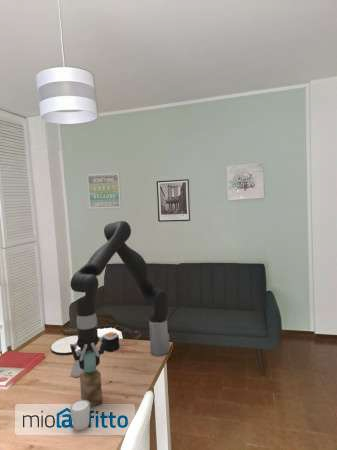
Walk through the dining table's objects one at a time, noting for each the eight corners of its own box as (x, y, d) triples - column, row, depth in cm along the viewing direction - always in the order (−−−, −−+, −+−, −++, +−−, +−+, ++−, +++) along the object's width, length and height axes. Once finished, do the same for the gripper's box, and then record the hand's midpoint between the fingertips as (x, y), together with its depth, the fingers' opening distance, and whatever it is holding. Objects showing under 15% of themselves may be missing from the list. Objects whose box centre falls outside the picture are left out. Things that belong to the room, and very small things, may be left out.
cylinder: (94, 364, 125) (93, 347, 125) (97, 370, 121) (96, 352, 120) (82, 367, 123) (81, 350, 122) (84, 373, 118) (83, 356, 118)
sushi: (111, 343, 173) (110, 329, 173) (122, 347, 169) (121, 333, 168) (100, 349, 167) (99, 335, 166) (111, 353, 162) (110, 338, 161)
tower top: (94, 381, 127) (93, 366, 126) (101, 387, 122) (100, 372, 121) (80, 387, 123) (79, 372, 122) (87, 393, 118) (86, 378, 118)
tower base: (98, 394, 127) (97, 380, 127) (102, 404, 121) (101, 389, 121) (81, 399, 124) (80, 385, 124) (84, 409, 118) (83, 394, 118)
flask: (82, 378, 140) (81, 357, 139) (67, 377, 141) (66, 356, 140) (89, 369, 147) (88, 349, 146) (75, 368, 148) (74, 348, 147)
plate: (84, 355, 162) (84, 351, 162) (45, 356, 162) (44, 353, 162) (94, 337, 183) (94, 334, 182) (59, 339, 183) (58, 336, 183)
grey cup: (73, 418, 113) (72, 400, 113) (92, 416, 114) (91, 398, 113) (69, 432, 107) (67, 412, 106) (89, 430, 107) (88, 410, 107)
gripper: (103, 318, 127) (105, 358, 128) (66, 325, 121) (69, 367, 122) (107, 324, 120) (110, 366, 121) (69, 332, 114) (72, 376, 115)
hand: (89, 366), depth 122 cm, fingers closed on cylinder, 5 cm apart
